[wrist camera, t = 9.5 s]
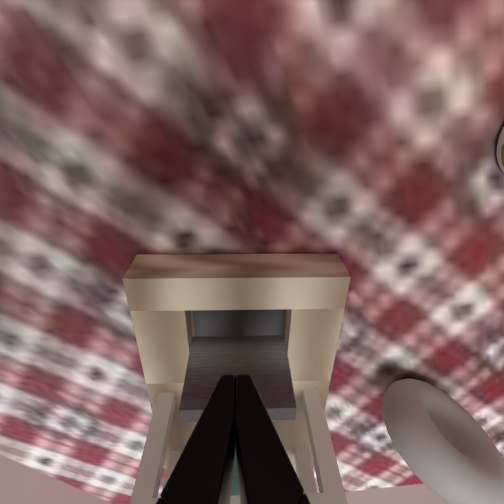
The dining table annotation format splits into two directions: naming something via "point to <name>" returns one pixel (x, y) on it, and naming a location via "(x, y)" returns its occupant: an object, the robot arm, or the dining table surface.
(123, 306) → the dining table surface
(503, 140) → the supplement bottle
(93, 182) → the dining table surface
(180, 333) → the deck
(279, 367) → the carriage
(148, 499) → the tunnel
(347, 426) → the dining table surface
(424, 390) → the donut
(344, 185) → the dining table surface
